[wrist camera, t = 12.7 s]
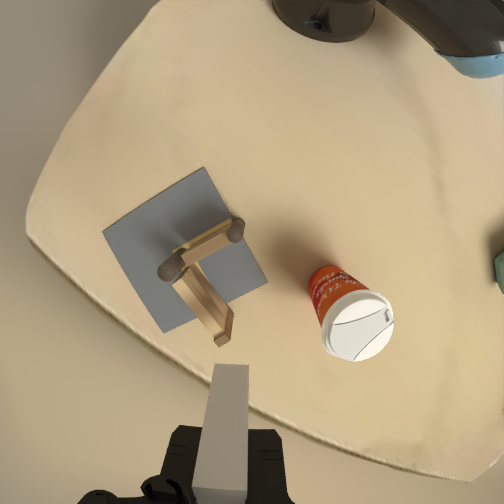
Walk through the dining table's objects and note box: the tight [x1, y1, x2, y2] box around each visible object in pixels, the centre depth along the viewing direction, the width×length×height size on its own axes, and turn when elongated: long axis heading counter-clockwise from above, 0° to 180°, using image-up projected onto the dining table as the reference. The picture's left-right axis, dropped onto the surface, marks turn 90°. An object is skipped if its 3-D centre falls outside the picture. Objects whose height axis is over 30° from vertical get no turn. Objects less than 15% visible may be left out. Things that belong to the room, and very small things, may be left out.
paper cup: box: [309, 266, 394, 361], centre depth 32 cm, size 8×8×14 cm
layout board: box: [102, 168, 268, 333], centre depth 38 cm, size 17×17×1 cm
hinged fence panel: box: [172, 263, 234, 347], centre depth 35 cm, size 9×2×8 cm, turn 35°
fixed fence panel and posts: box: [157, 218, 245, 282], centre depth 34 cm, size 2×10×8 cm, turn 118°
